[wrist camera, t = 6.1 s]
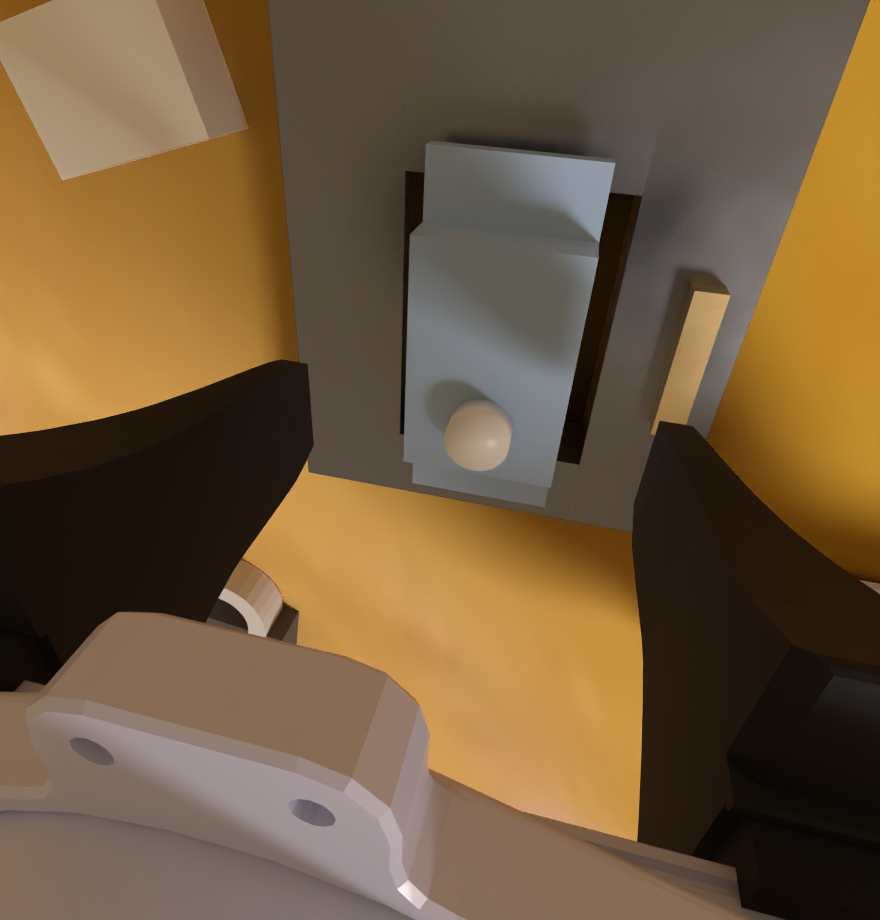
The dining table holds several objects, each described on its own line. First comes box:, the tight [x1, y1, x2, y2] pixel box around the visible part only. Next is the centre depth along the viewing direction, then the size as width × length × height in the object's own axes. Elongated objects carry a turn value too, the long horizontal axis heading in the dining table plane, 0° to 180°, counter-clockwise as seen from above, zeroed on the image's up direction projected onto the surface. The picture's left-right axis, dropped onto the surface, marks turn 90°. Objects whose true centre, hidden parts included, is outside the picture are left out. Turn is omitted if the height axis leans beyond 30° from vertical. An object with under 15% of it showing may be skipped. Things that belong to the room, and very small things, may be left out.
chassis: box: [268, 0, 870, 532], centre depth 17 cm, size 12×14×3 cm
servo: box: [403, 141, 616, 507], centre depth 16 cm, size 4×9×6 cm, turn 177°
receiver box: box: [0, 0, 249, 181], centre depth 16 cm, size 5×4×2 cm
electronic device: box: [206, 560, 299, 645], centre depth 32 cm, size 7×3×15 cm
